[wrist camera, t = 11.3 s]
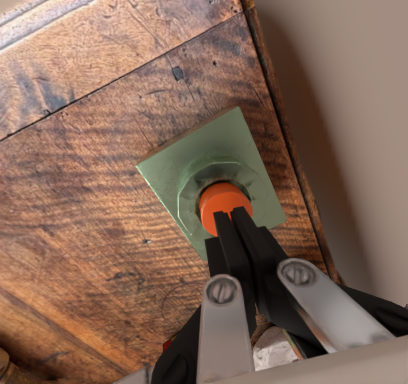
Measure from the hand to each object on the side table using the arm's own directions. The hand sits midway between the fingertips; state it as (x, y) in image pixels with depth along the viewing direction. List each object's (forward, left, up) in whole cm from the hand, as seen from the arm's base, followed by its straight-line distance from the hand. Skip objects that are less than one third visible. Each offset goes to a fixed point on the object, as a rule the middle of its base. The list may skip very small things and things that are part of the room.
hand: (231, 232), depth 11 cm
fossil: (+25, +4, -9) cm, 27 cm away
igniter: (0, 0, -9) cm, 9 cm away
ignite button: (0, 0, -3) cm, 3 cm away
